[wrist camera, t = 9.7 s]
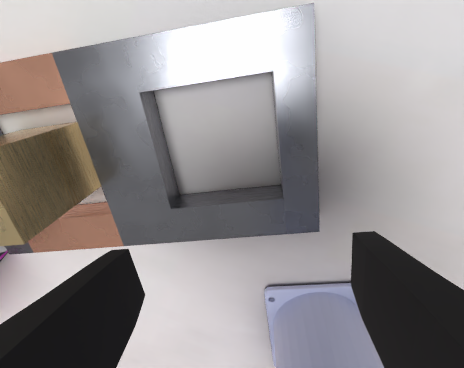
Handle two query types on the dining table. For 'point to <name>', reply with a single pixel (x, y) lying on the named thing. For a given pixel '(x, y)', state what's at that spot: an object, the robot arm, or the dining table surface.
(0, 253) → the candy bar box
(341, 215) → the dining table surface
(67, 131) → the light brown rectangular block
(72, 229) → the grey flat frame piece
